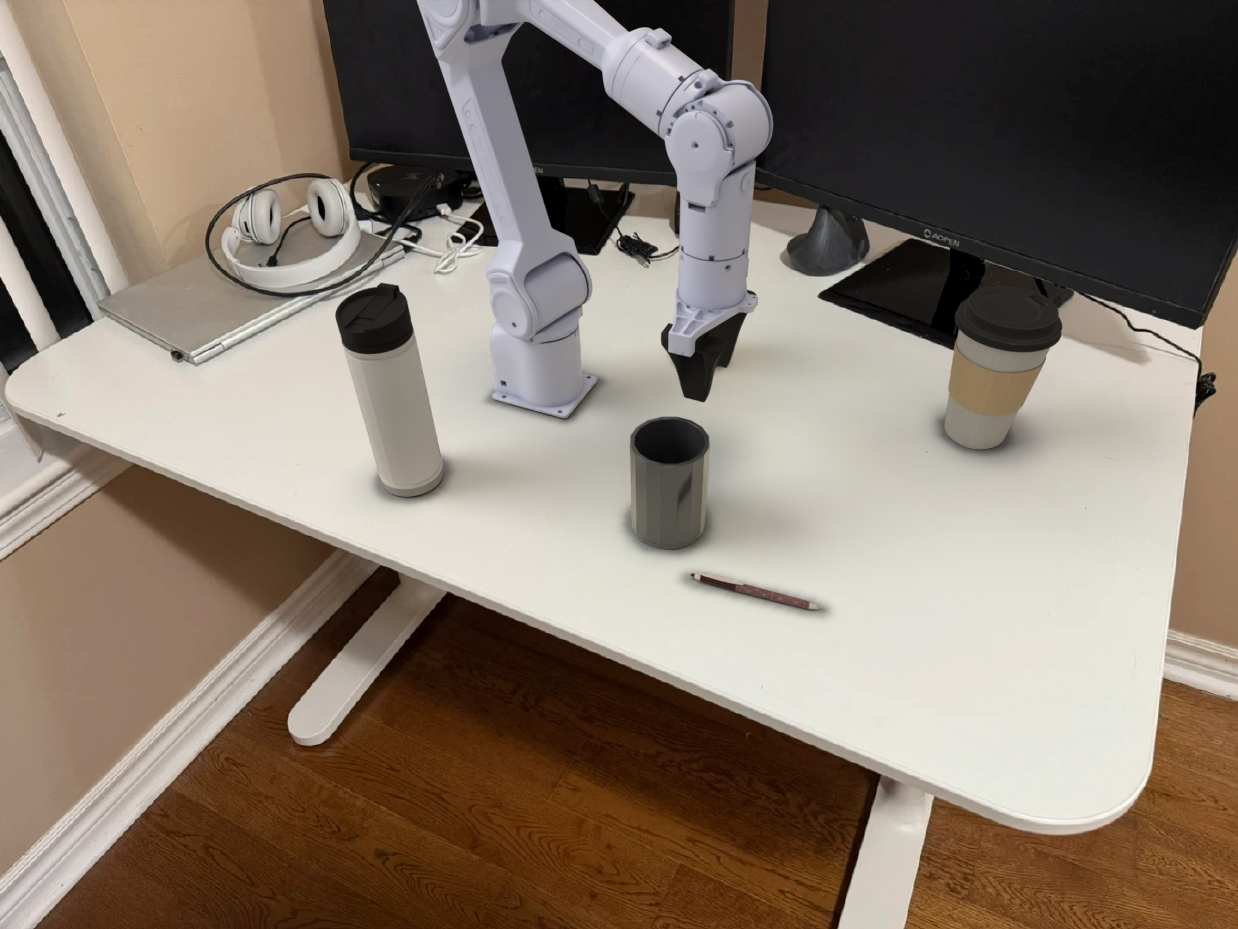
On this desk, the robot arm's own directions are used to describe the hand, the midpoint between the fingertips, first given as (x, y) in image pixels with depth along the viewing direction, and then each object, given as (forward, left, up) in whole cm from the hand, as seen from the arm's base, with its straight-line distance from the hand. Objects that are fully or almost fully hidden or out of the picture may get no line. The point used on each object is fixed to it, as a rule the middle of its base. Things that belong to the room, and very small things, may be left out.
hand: (706, 380), depth 78 cm
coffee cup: (+24, +16, -11) cm, 31 cm away
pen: (+10, -14, -11) cm, 20 cm away
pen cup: (0, -9, -10) cm, 14 cm away
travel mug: (-26, -13, -11) cm, 31 cm away
